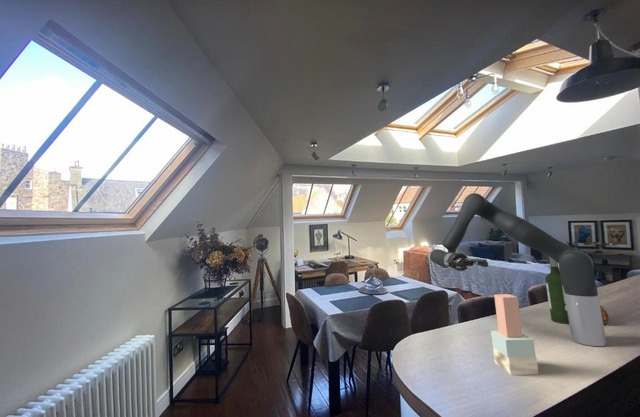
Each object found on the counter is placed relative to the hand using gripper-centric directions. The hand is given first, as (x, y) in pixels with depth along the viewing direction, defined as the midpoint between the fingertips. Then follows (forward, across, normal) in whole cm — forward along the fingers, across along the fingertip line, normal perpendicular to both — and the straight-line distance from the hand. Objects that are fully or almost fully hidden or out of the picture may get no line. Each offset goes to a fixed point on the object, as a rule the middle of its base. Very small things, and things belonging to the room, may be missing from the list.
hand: (475, 264), depth 103 cm
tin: (-22, +60, +30) cm, 71 cm away
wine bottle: (-24, +48, +30) cm, 61 cm away
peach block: (+16, 0, +20) cm, 26 cm away
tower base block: (+16, 0, +30) cm, 34 cm away
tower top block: (+16, 0, +25) cm, 30 cm away
